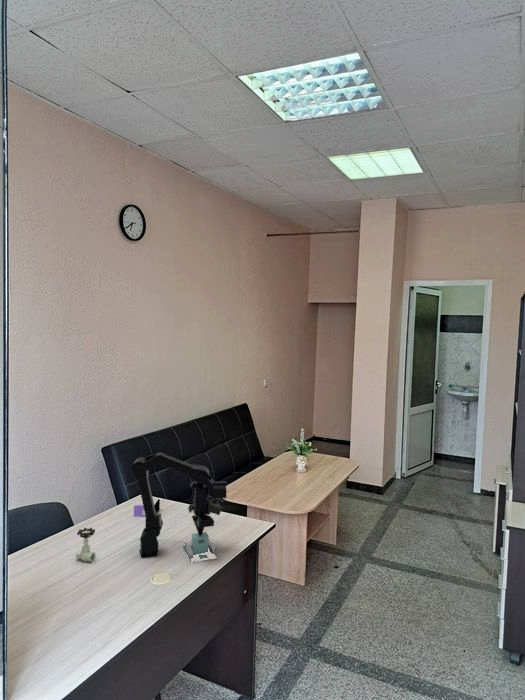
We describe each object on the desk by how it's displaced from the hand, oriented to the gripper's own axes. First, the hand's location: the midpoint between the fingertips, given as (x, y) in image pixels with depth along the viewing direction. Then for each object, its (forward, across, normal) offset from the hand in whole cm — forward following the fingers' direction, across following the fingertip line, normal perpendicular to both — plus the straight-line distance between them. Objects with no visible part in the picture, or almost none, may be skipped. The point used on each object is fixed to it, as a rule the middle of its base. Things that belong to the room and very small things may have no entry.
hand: (200, 535), depth 195 cm
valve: (+8, +8, +44) cm, 45 cm away
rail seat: (+8, 0, 0) cm, 8 cm away
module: (+7, 0, 0) cm, 7 cm away
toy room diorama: (+8, +46, +14) cm, 49 cm away
